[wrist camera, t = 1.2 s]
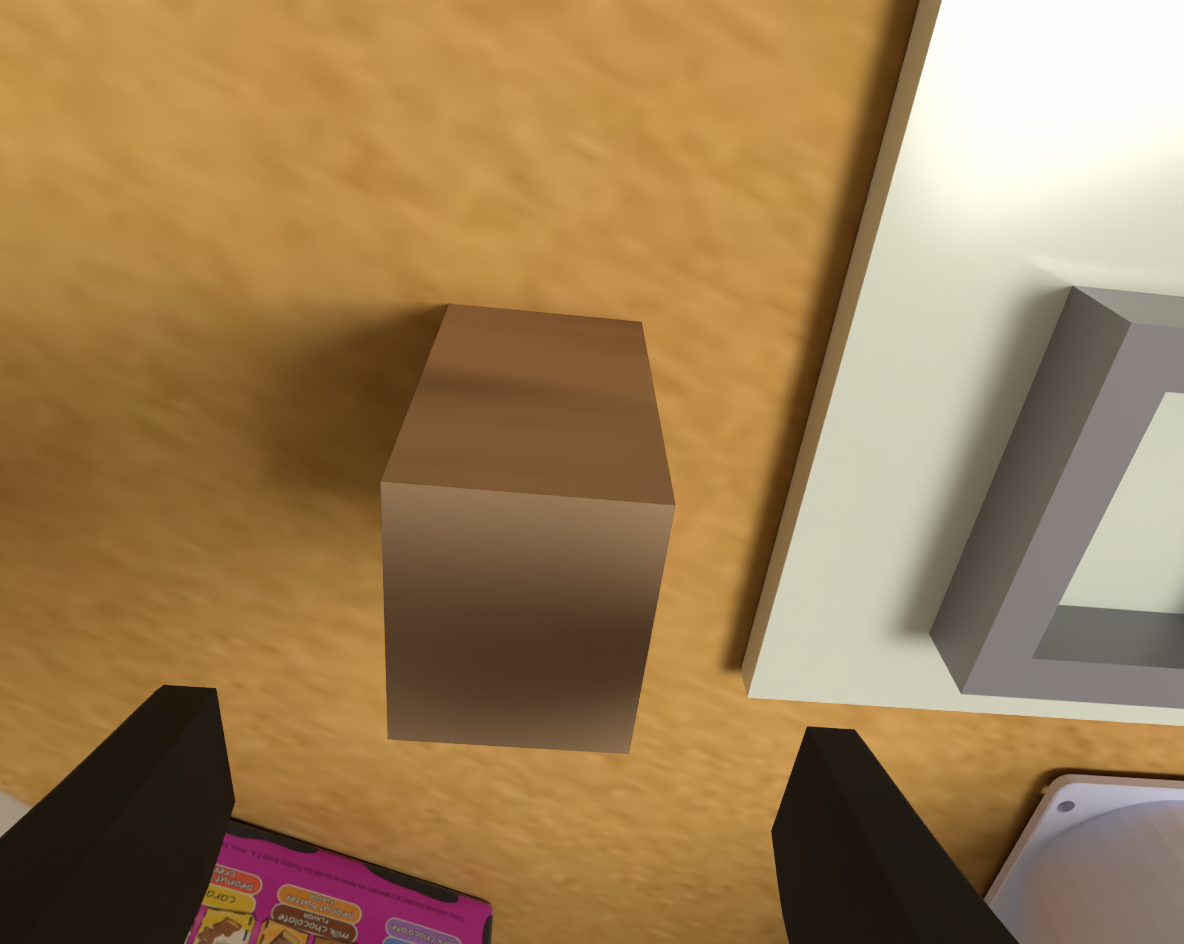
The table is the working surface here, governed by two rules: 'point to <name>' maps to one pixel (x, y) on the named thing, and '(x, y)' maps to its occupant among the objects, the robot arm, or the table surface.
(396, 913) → the candy bar box
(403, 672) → the brown wooden block
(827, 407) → the board with square socket
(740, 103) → the table surface
